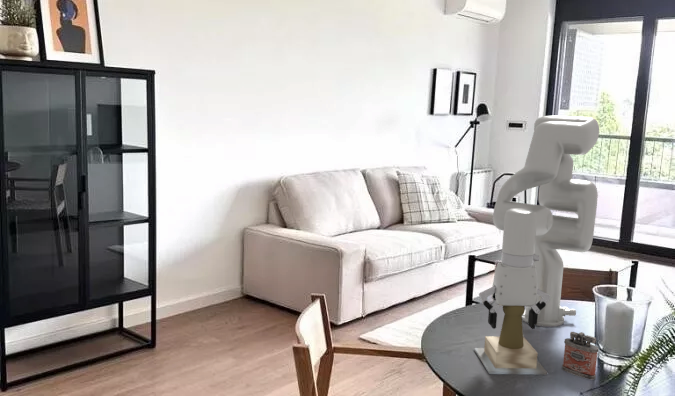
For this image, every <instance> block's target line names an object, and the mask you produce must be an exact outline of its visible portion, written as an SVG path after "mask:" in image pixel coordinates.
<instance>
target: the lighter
mask: <svg viewBox="0 0 675 396" xmlns="http://www.w3.org/2000/svg"><path fill="white" fill-rule="evenodd" d="M596 343H597V337H595V336H592V335H588V334H585V333H584V332H583V331H582V332H579V333H578V332H575V331H570V335H569V338H568V337H567V338H564V352H563V362H562V365H561V370H562V371H564V372H566V373H568V374H572V375H573V376H576V377H578V378H579V377H580V378H583V379H586V380H592V381H593V380H596V378H597V376H596V370H597V369H596V368H597V361H598V359H597V358H598V353H599V346H596V345H594V344H596Z"/></svg>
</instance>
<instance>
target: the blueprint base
mask: <svg viewBox="0 0 675 396" xmlns="http://www.w3.org/2000/svg"><path fill="white" fill-rule="evenodd" d="M499 338H500V336H493V335H491V336H484V347H474V349H473V350H474V352H475V354H476V356H477V358H478V359H479V360H480V361H481V363H482V364H483V367H484V368H485V369H486V371H487V373H488V375H546V376H547V375H548V370H546V369H545V368H544V366H543V365H542V364H541V362H540V361H539V360H538V351H537V350H536V349H535V348H534V347H533V345H532V344H531V343H530V342H529V341H528V340H527V339H526V337H525V336H523V344H524V346H523V347H522V348H520V349H509V348H505V347H503V346H501V345H499V343H498V342H499Z"/></svg>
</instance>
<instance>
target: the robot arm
mask: <svg viewBox="0 0 675 396" xmlns="http://www.w3.org/2000/svg"><path fill="white" fill-rule="evenodd" d="M533 130H534V131H533V133H532V137H531V138H532V139H531V141H530V144H529V149H528V152H527V156H526V159H525V162H524V166H523V168H521V169H519V170H518V171H516V172H515V173H514V174H512V175H511V176H510V177H509V178H508V179H507V180H506V181H505V182H504V183H503V184H502V186H501V187H500V189H499V191H498V194H497V197H496V201H495V204H494V208H493V212H492V213H493V214H492V222H493V225H494V226H495V228H496V229H498V230H500V231H503V232H502V233H503V235H502V247H501V260H500V262H497V264H496V267H495V270H494V275H493V281H492V287H489V288H487V289H486V290H483V291H481V292H479V293H478V296H479V299H480V300H481V303H482V304H483V306H484V307H485V308H486V309H487V310H488V316H487V323H488V324H489V325H490V327H491V328H492V329H493V330H495V329H496V328H497V319H498V313H497V312H496V311H497V310H499V308H500V307H501V306H502V307H503V306H525V311H524V314H523V315H522V322H524V323H527V325H528V327H530V329H532V330H535V329H536V327H537V326H539V327H543V328H544V327H547V328H554V327H556V328H557V327H559V326H562V325H563V324H564V323H565V317H566V316H575V317H576V316H577V315H576V314H577V311H576V309H575V308H568V306H561V297H562V289H563V288H562V285H563V277H564V276H563V274H564V261H563V258H562V256H561V255H560V253H559V252H558V250H561V251H567V252H577V253H585V252H588V251H589V250H590V249H591V248H592V244H593V239H594V232H595V225H596V214H597V207H598V188H597V186H596V185H595V183H593V182H592V181H589V180H585V179H573V169H574V160H573V158H572V155H574V156H575V155H576V156H578V155H579V156H585V155H586V154H588V153H589V152H590V151H591V150H592V148H594V147H595V145H596V144H597V142H598V139H599V136H600V125H599V122H598V121H597V120H596V119H595V118H594V117H589V116H588V117H587V116H569V115H568V116H567V115H544V116H540V117H538V118H537V119H536V120H535V122H534V125H533ZM536 187H538V203H539V204H531V203H524V202H516V201H513V198H514V197H516V196H517V195H518V194H520V193H522V192H524V191H528V190H530V189H533V188H536ZM552 211H555V212H565V213H573V214H576V215H577V217H571V216H570V217H569V216H563V215H555V214H553V213H552ZM489 296H491V298H492V300H491V302H489V301H488V297H489Z"/></svg>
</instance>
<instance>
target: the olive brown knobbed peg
mask: <svg viewBox="0 0 675 396" xmlns="http://www.w3.org/2000/svg"><path fill="white" fill-rule="evenodd" d="M525 310H526V306H502V311H503V313H504V317H503V320H502V325H501V329H500V330H501V331H500V334H499V337H500V338H499V342H498V343H499V345H501V346H503V347H505V348H509V349H520V348H522V347H523V346H524V344H523V337H524V330H523V328H524V327H523V320H522V315H523V314H524V311H525Z"/></svg>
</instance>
